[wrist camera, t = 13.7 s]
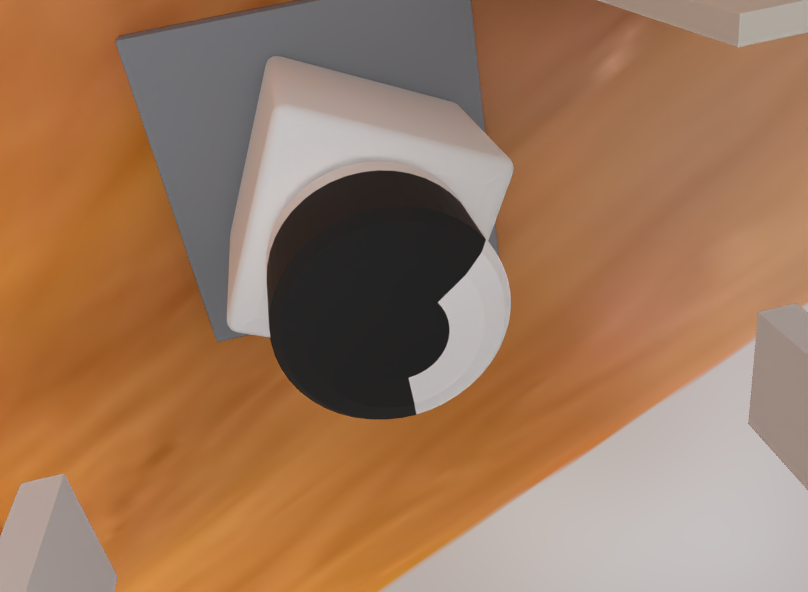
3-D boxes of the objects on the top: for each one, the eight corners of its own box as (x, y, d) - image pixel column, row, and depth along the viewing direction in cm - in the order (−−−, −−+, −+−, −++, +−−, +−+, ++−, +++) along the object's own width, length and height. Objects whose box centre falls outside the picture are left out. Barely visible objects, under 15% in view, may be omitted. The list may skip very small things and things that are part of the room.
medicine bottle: (228, 238, 29) (219, 437, 19) (267, 51, 26) (282, 162, 16) (405, 272, 31) (486, 468, 21) (460, 101, 28) (586, 230, 18)
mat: (460, -32, 27) (467, -30, 26) (494, 265, 33) (500, 276, 32) (119, 35, 26) (114, 40, 25) (217, 329, 32) (217, 342, 31)
